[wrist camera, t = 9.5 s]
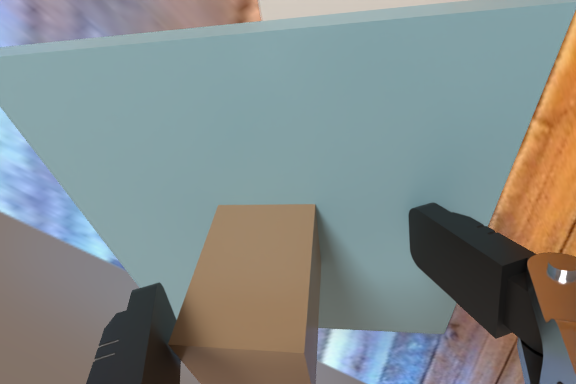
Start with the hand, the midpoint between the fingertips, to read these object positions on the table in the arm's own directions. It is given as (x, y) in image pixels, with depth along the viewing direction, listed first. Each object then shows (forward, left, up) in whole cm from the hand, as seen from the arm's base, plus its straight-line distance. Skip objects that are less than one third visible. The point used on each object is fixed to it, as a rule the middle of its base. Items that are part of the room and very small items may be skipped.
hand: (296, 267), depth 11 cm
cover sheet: (0, 0, -3) cm, 3 cm away
